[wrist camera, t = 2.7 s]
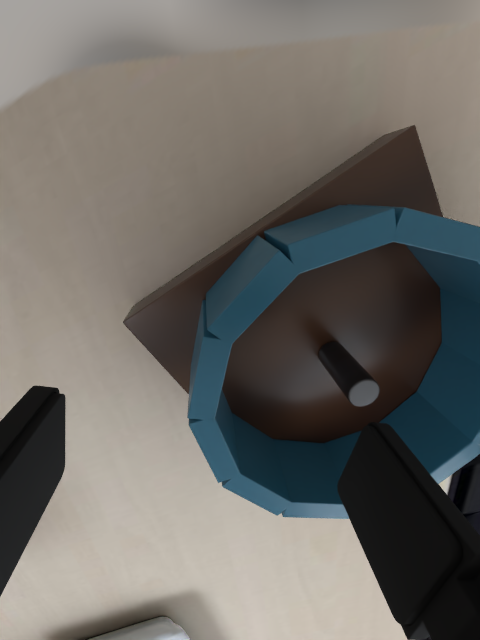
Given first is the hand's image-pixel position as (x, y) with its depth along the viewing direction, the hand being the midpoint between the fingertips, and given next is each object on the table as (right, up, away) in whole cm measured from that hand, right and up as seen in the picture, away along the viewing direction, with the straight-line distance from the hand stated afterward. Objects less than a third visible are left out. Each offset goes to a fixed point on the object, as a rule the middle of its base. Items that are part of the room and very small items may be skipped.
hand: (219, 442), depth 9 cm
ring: (+6, +2, +9) cm, 11 cm away
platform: (+6, +3, +11) cm, 13 cm away
